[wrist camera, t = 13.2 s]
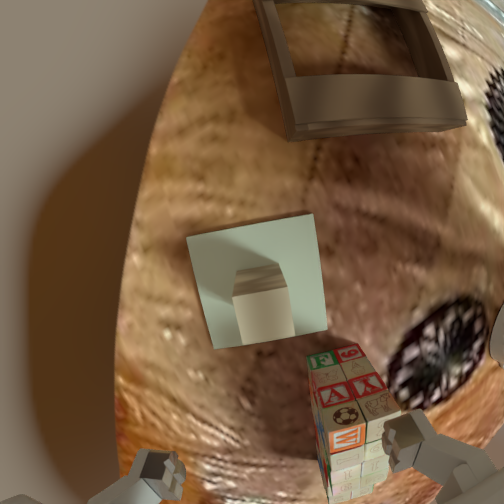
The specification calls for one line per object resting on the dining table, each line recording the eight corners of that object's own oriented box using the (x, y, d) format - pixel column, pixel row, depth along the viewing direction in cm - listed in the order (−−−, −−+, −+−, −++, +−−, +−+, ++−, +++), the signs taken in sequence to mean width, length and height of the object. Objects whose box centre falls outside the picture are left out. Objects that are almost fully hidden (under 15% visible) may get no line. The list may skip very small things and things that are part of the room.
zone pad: (311, 213, 27) (313, 213, 26) (326, 327, 29) (327, 329, 28) (187, 236, 27) (185, 237, 26) (214, 346, 29) (214, 349, 29)
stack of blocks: (356, 450, 34) (377, 509, 22) (317, 460, 34) (330, 522, 22) (357, 341, 30) (403, 410, 17) (304, 354, 30) (328, 434, 18)
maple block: (278, 263, 27) (287, 286, 20) (285, 302, 28) (295, 335, 21) (236, 270, 27) (231, 297, 20) (244, 309, 28) (243, 344, 21)
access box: (394, 4, 21) (412, -16, 16) (439, 132, 25) (468, 124, 19) (252, -1, 22) (252, -29, 16) (288, 142, 25) (297, 130, 20)
